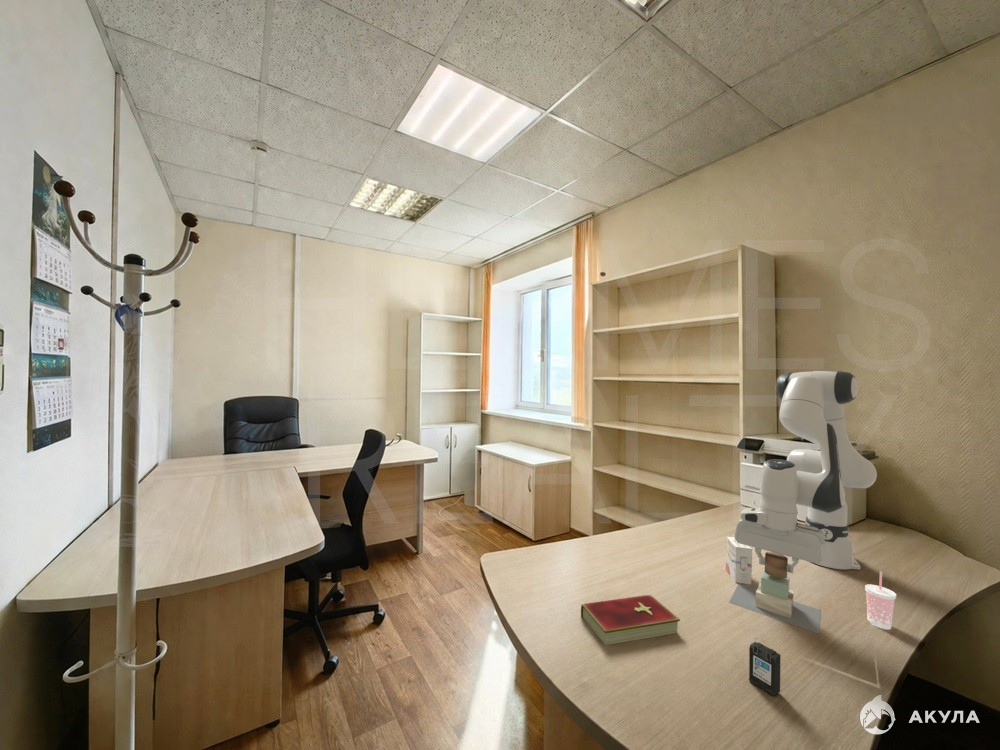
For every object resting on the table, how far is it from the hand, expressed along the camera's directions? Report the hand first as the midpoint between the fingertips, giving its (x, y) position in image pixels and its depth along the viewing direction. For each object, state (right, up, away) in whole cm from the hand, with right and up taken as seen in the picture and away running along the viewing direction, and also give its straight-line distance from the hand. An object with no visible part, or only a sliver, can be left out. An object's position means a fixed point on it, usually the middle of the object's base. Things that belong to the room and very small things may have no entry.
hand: (775, 567), depth 112 cm
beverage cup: (+23, -12, -6) cm, 27 cm away
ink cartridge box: (-1, -11, +16) cm, 20 cm away
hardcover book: (-45, -10, -10) cm, 47 cm away
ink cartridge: (-23, -11, -30) cm, 39 cm away
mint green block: (0, -7, 0) cm, 7 cm away
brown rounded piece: (0, -2, 0) cm, 2 cm away
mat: (0, -11, 0) cm, 11 cm away
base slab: (0, -11, 0) cm, 11 cm away
